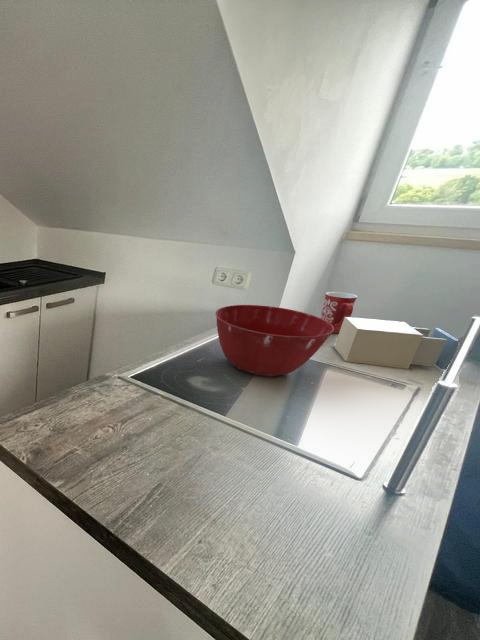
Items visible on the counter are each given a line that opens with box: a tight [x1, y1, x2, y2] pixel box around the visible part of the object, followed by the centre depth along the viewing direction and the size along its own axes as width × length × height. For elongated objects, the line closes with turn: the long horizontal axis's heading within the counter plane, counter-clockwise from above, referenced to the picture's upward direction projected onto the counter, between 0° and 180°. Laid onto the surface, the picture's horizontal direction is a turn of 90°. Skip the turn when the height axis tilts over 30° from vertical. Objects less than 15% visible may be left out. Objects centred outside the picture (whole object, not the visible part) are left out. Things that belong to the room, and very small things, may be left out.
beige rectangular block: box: [334, 316, 423, 370], centre depth 119 cm, size 15×13×11 cm
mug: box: [319, 291, 359, 334], centre depth 140 cm, size 13×9×14 cm
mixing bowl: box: [214, 304, 334, 377], centre depth 114 cm, size 28×28×16 cm
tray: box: [410, 326, 472, 371], centre depth 115 cm, size 18×11×9 cm, turn 65°
